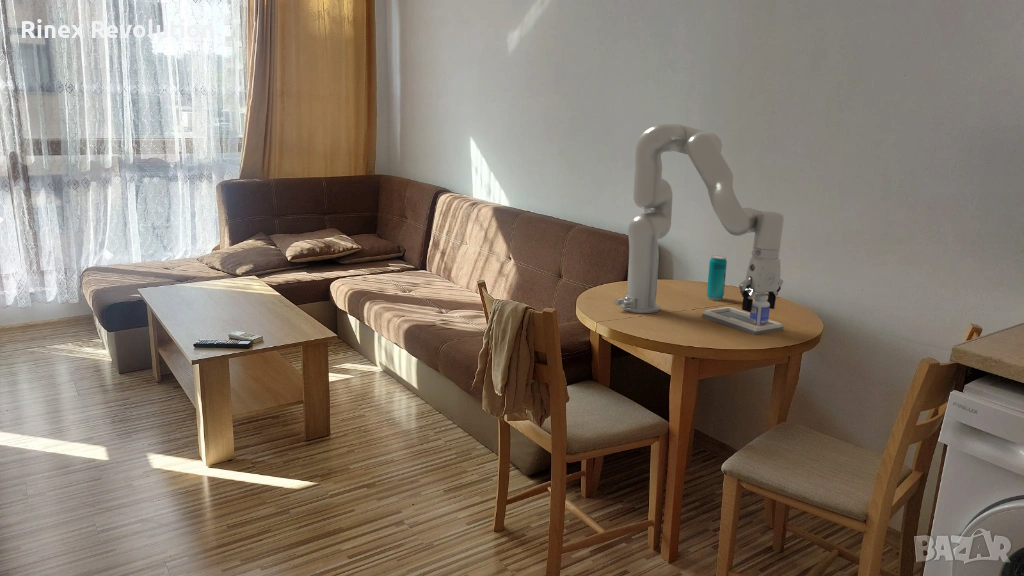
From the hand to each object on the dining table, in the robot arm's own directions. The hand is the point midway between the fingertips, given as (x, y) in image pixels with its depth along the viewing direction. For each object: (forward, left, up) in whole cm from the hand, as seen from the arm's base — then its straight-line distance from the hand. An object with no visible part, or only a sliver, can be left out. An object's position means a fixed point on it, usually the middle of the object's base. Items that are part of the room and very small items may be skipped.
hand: (758, 309), depth 225 cm
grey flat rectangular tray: (0, +6, -6) cm, 9 cm away
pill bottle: (0, -1, -5) cm, 5 cm away
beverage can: (+15, +33, -6) cm, 37 cm away
